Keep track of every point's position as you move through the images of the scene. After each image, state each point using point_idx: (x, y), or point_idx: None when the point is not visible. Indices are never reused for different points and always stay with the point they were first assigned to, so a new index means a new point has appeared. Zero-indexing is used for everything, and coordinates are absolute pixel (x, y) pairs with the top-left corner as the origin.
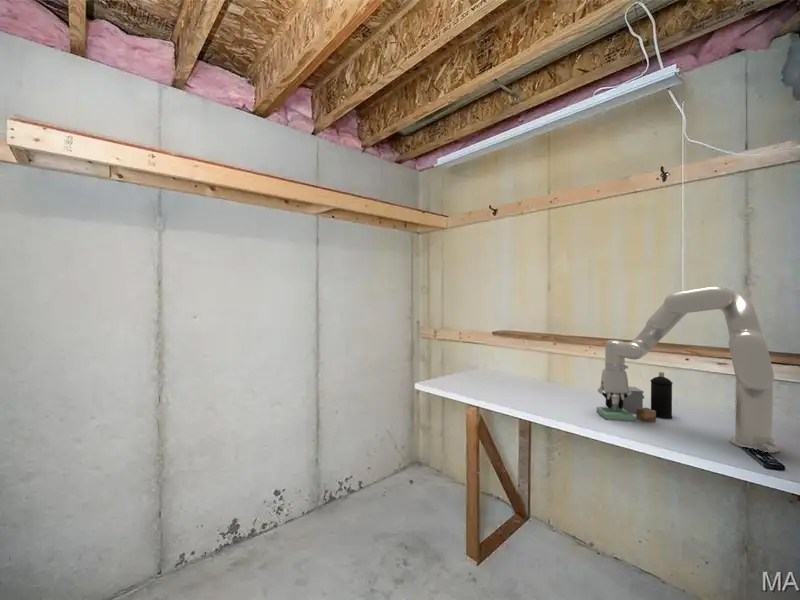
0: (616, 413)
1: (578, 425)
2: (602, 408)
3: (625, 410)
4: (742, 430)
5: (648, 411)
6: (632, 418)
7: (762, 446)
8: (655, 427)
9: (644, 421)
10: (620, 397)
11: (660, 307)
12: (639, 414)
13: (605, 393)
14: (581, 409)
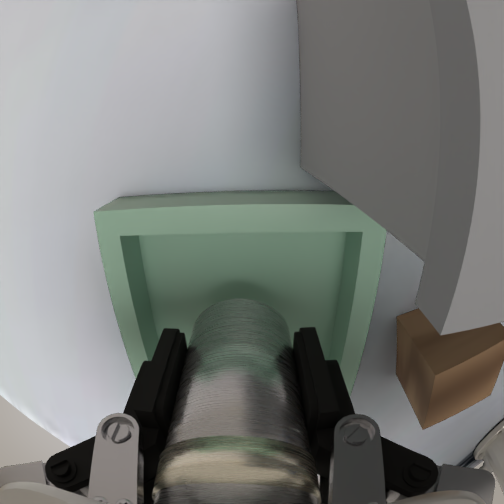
0: (287, 255)
1: (48, 423)
2: (150, 231)
3: (373, 292)
4: (497, 472)
5: (445, 418)
6: None
7: (482, 467)
8: (392, 416)
9: (398, 375)
10: (328, 467)
11: None
12: (413, 368)
13: (95, 477)
14: (22, 159)
